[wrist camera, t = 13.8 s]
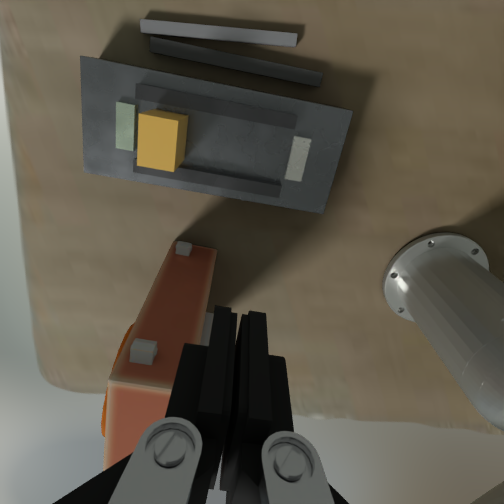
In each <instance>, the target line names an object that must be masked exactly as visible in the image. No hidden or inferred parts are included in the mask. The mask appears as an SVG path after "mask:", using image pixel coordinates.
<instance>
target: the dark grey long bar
mask: <svg viewBox="0 0 504 504" xmlns="http://www.w3.org/2000/svg"><path fill="white" fill-rule="evenodd" d="M150 52H153V53H157V54H162V55H167V56H172V57H177V58H182V59H186V60H191V61H196V62H201V63H206V64H210V65H215V66H220V67H225V68H230V69H234V70H239V71H244V72H249V73H254V74H259V75H263V76H268V77H273V78H278V79H283V80H287V81H292V82H297V83H302V84H307V85H311V86H316V87H320V84H321V80H322V75H323V73H321V72H316V71H312V70H307V69H302V68H297V67H293V66H288V65H283V64H278V63H274V62H269V61H264V60H260V59H255V58H250V57H245V56H241V55H236V54H231V53H227V52H222V51H217V50H212V49H208V48H203V47H198V46H193V45H189V44H184V43H179V42H175V41H170V40H165V39H160V38H156V37H151V36H150Z"/></svg>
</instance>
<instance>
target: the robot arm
mask: <svg viewBox="0 0 504 504" xmlns="http://www.w3.org/2000/svg"><path fill="white" fill-rule="evenodd" d="M382 289H383V294H384V297H385V299H386V301H387V303H388V305H389V306H390V308H391V309H392V310H393V311H394V312H395V313H396V314H397V315H399V316H400V317H402V318H404V319H407V320H410V321H413V322H416V323H417V325H418V326H419V328H420V329H421V331H422V332H423V334H424V335H425V337H426V338H427V339H428V341H429V342H430V344H431V345H432V347H433V348H434V350H435V351H436V353H437V354H438V355H439V357H440V358H441V360H442V361H443V363H444V364H445V366H446V367H447V369H448V370H449V372H450V373H451V374H452V376H453V377H454V379H455V380H456V382H457V383H458V385H459V386H460V388H461V389H462V390H463V392H464V393H465V395H466V396H467V398H468V399H469V400H470V402H471V403H472V405H473V406H474V407H475V409H476V410H477V411H478V412H479V413H480V414H481V415H482V416H483V417H484V418H485V419H486V420H487V421H488V422H490V423H491V424H492V425H494V426H495V427H497V428H498V429H500V430H502V431H504V283H503V282H502V281H501V280H499V279H498V278H497V277H496V276H494V275H493V274H492V273H491V272H489V262H488V259H487V256H486V254H485V252H484V251H483V249H482V248H481V247H480V246H479V245H478V244H477V243H476V242H474V241H473V240H471V239H470V238H468V237H466V236H463V235H461V234H456V233H450V232H448V233H435V234H429V235H427V236H424V237H421V238H418V239H417V240H415V241H413V242H411V243H409V244H408V245H406V246H405V247H404V248H402V249H401V250H400V251H399V252H398V253H397V254H396V255H395V256H394V257H393V259H392V260H391V262H390V263H389V264H388V267H387V269H386V271H385V273H384V277H383V287H382ZM236 327H237V313H232V312H231V308H229V307H222V306H216V305H215V310H214V316H213V322H212V328H211V334H210V340H209V346H204V345H197V344H190V343H184V346H183V349H182V353H181V357H180V361H179V364H178V368H177V372H176V376H175V380H174V384H173V387H172V391H171V395H170V399H169V403H168V407H167V410H166V414H165V418H162V419H160V420H158V421H156V422H154V423H152V424H151V425H150V426H149V427H147V428H146V430H145V431H144V433H143V434H142V436H141V437H140V439H139V441H138V443H137V445H136V447H135V450H134V452H133V453H131V454H130V455H128V456H126V457H125V458H123V459H122V460H120V461H119V462H117V463H115V464H114V465H112V466H111V467H109V468H108V469H106V470H105V471H103V472H102V473H100V474H98V475H97V476H95V477H94V478H92V479H90V480H89V481H87V482H86V483H84V484H83V485H81V486H80V487H78V488H77V489H75V490H74V491H72V492H70V493H69V494H67V495H65V496H64V497H62V498H61V499H59V500H58V501H56V502H55V503H53V504H205V503H206V499H207V494H208V489H214V485H215V481H216V476H217V473H218V468H219V463H220V460H221V455H222V463H221V476H220V477H221V478H220V490H222V491H227V493H226V504H349V503H348V502H347V501H346V500H345V499H344V498H343V497H342V496H341V495H340V494H339V493H338V492H337V491H336V490H335V489H334V488H333V487H332V486H331V485H330V484H329V483H328V482H327V479H326V476H325V473H324V470H323V467H322V463H321V460H320V457H319V455H318V453H317V451H316V449H315V448H314V447H313V445H312V444H311V443H310V442H309V441H308V440H307V439H305V438H304V437H303V436H301V435H299V434H297V433H294V428H293V420H292V411H291V403H290V394H289V386H288V378H287V369H286V362H285V358H284V357H281V356H274V355H269V354H268V338H267V321H266V313H262V312H255V311H249V313H248V315H245V314H242V317H241V321H240V326H239V331H238V335H237V340H236ZM235 342H236V345H235ZM471 504H504V481H503V482H502V483H500V484H499V485H497V486H496V487H494V488H493V489H491V490H489V491H488V492H486V493H485V494H483V495H482V496H481V497H479V498H478V499H476V500H475V501H473V502H472V503H471Z"/></svg>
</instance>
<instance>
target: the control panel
mask: <svg viewBox="0 0 504 504" xmlns="http://www.w3.org/2000/svg"><path fill="white" fill-rule="evenodd" d="M216 256H217V250H216V249H212V248H207V247H202V246H197V245H192V243H188V242H183V241H178V242H177V241H174V242H173V243H172V245H171V247H170V249H169V252H168V254H167V256H166V258H165V260H164V262H163V264H162V266H161V268H160V271H159V273H158V275H157V277H156V279H155V281H154V283H153V285H152V288H151V290H150V292H149V294H148V296H147V298H146V300H145V302H144V304H143V307H142V309H141V311H140V313H139V315H138V317H137V319H136V321H135V323H134V324H132V325H131V326H130V328H129V329H128V331H127V333H126V334H125V336H124V339H123V341H122V343H121V346H120V348H119V351H118V354H117V357H116V359H115V362H114V365H113V368H112V372H111V374H110V376H109V379H108V387H107V391H106V396H105V401H104V406H103V413H102V421H101V428H102V435H103V436H104V437H105V447H104V467H103V471H105V470H106V469H108V468H109V467H111V466H112V465H114V464H115V463H117V462H119V461H120V460H122V459H123V458H125V457H126V456H128V455H130V454H131V453H133V452H134V450H135V447H136V445H137V443H138V441H139V439H140V437H141V436H142V434H143V433H144V431H145V430H146V428H147V427H149V426H150V425H151V424H152V423H154V422H156V421H158V420H160V419H162V418H165V414H166V410H167V407H168V403H169V399H170V395H171V391H172V387H173V384H174V380H175V376H176V372H177V368H178V364H179V361H180V357H181V353H182V349H183V346H184V343H190V344H197V345H204V346H209V340H210V334H211V328H212V322H213V315H214V313H209V312H206V309H207V304H208V298H209V293H210V288H211V282H212V277H213V272H214V266H215V261H216Z"/></svg>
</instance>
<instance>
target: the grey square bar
mask: <svg viewBox="0 0 504 504" xmlns="http://www.w3.org/2000/svg"><path fill="white" fill-rule="evenodd" d="M140 28H141V33H144V34H154V35H165V36H176V37H187V38H198V39H209V40H220V41H230V42H241V43H252V44H263V45H274V46H285V47H296V41H297V33H286V32H276V31H265V30H254V29H243V28H233V27H222V26H211V25H200V24H190V23H179V22H168V21H157V20H147V19H140Z"/></svg>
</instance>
